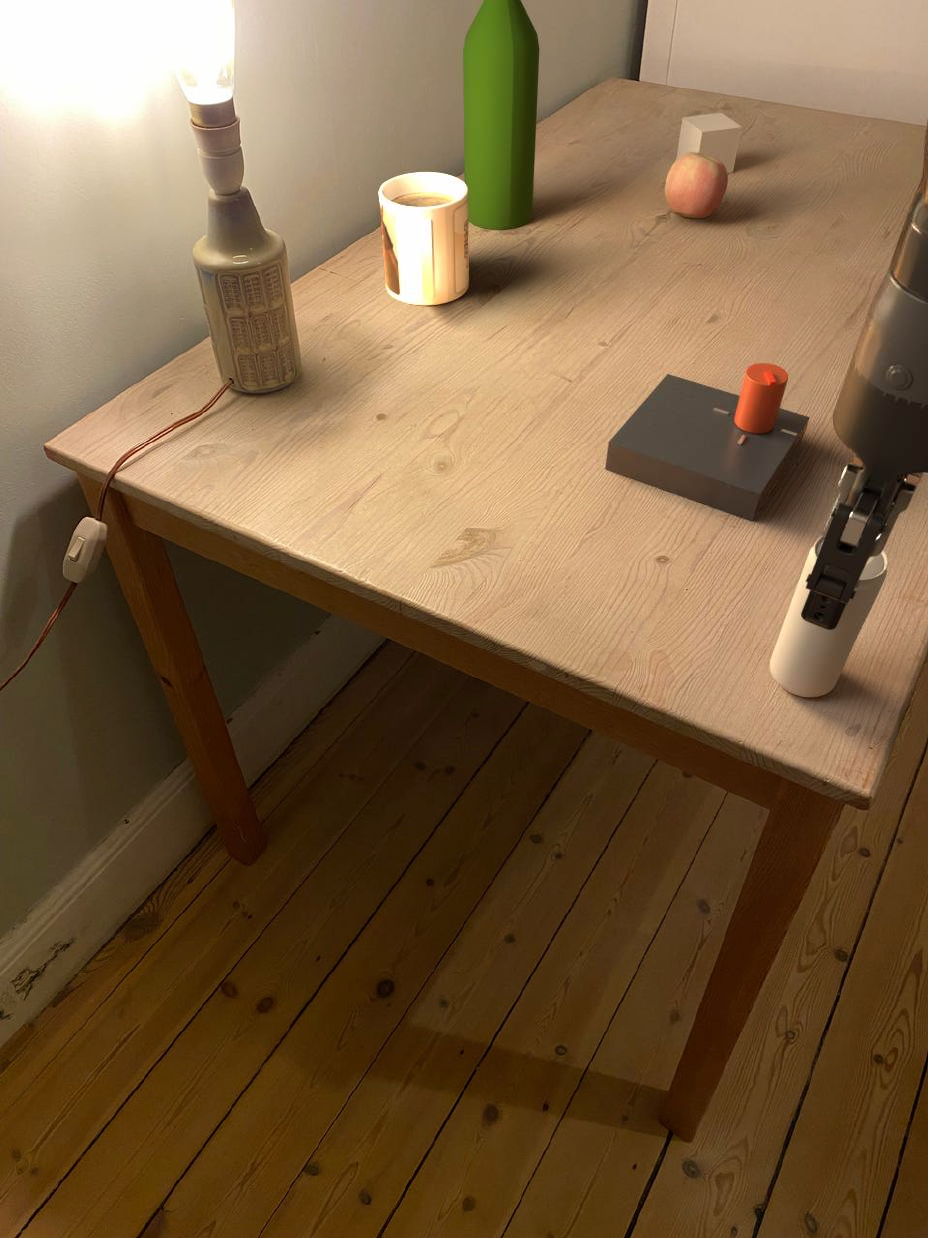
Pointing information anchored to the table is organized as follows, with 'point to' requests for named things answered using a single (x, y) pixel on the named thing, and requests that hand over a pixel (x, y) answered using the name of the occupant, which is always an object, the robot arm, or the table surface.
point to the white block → (710, 137)
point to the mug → (425, 237)
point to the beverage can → (822, 633)
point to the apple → (695, 185)
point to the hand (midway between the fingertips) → (838, 580)
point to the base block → (704, 447)
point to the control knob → (760, 398)
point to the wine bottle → (500, 114)
